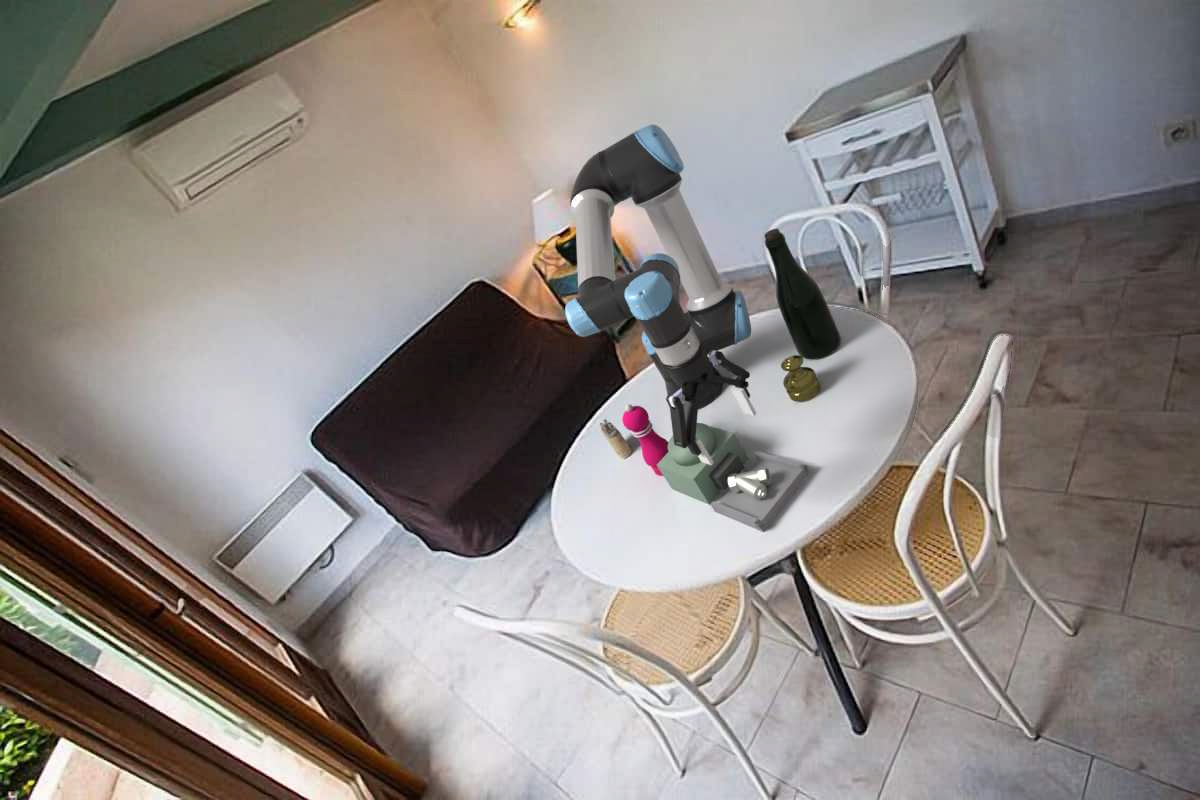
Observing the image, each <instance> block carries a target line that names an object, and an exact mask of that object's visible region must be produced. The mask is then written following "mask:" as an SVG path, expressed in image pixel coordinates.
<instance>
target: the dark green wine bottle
mask: <svg viewBox="0 0 1200 800" xmlns="http://www.w3.org/2000/svg"><path fill="white" fill-rule="evenodd" d="M764 246H765V248H766V249H767V252H768V253H769V256H770V258H771V261H772V264H773V267H774V271H775V272H774V273H775V281H776V282H775V295H776V296H775V297H776V301H777V305H778V308H779V311H780V314H781V316H782V318H783V321H784V323H785V326H786V329H787V330H788V332H789V335H790V337H791V339H792V342H793V345H794V347H795V348H796V351H797V354H798V355H799V356H801V357H802V358H803V359H806V360H818V359H821V358H824V357H827V356H829V355H831V354H832V353H833V352H835V351H836V350H837V349H838V348H839V346H840V344H841V342H842V337H841V334H840V332H839V330H838V326H837V325H836V322H835V320H834V318H833V315H832V313H831V310H830V309H829V306H828V303H827V300H826V299H825V297H824V295H823V292H822V290H821V288H820V286H819V285H818V283H817V282H816V280H815V279H814V278H813V277H812V276H811V275H810V274H809V273H808V272H807V271H806V270H805V269H804V268H803V267H802V266H801V265H800V264H799V263H798V261H797V260H796V259H795V257H794V255H793V253H792V252H791V250H790V248H789V245H788V243H787V241H786V236H785V234H783V232H781V231H780V229H779V228H772V229H771V230H768V231H767V232H766V233H764Z"/></svg>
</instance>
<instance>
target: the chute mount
mask: <svg viewBox="0 0 1200 800" xmlns="http://www.w3.org/2000/svg"><path fill="white" fill-rule="evenodd" d="M753 455H754V457H755V459H754V461H752V463H751V464H750V465H749V466H748V467H747V469H746V470H745V471H744V472H748V471H753V470H757V469H759V468H760V467H764V466H766V467H767V468H768V469H769V471H770V474H771V480H772V481H771V484H770V485H768V486H766V488H767V491H766V496H765V497H763V498H762V499H760V500H756V499H755V498H753V497H751V496H750V495H748V494H746V493H745V492H743V491H742V490H740V491H739V492H735V493H733V492H732V491H731V490H730V489H729V490H728V491H727V492H726V493H725V495H724V496H723V497H722V498H721V499H720V500H719V502H718V501H714V500H713V501H712V502H711V503H710V506H711V508H712V509H713V511H714V512H715V513H717V514H719V515H721V516H724V517H726V518H728V519H731V520H733V521H737V522H739V523H741V524H743V525H746V526H748V527H750V528H753V529H755V530H757V531H760V532H762V533H763V532H764V531H765V530H766V529H767V528H768V527H769V526H770V524H771V523H772V521H773V520H774V519H775V518H776V516H777V515H778V514H779V513H780V511H782V509H783V508H784V506H785V505H786V504H787V503H788V501H789V500H790V498H791V497H792V496H793V495H794V494H795V493H796V492H797V490H798V489H799V488H800V486H801V485H802V484H803V483H804V482H805V480H806V479H807V477H808V476H809V475H810V474H811V471H810V469H809V468H808V466H807V464H804V463H800V462H797V461H793V460H790V459H786V458H783V457H780V456H776V455H772V454H770V453H766V452H764V451H759V450H755V451H754V452H753Z"/></svg>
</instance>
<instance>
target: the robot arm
mask: <svg viewBox="0 0 1200 800" xmlns="http://www.w3.org/2000/svg"><path fill="white" fill-rule="evenodd" d="M684 168H685V166H684V162H683V161H682V158H681V157H680V153H679V152H678V150H677V148H676V147H675V145H674V144H673V142H672V140H671V139H670V137H669V136H668V135H667V133H666V132H665V131H664V130H663V129H662V127H660V126H659V125H656V124H649V125H647V126H645V127H642V128H640V129H638V130H635V131H633V132H632V133H630V134H629V135H627V136H626V137H624V138H622V139H620V140H618V141H616V142H615V143H613V144H612V145H610V146H608V147H606V148H604V149H602V150H600V151H598V152H596V153H595V154H593V155H592V156H591V157H590V158H589V159H588V160H587V161H586V162H585V164H584V165H583V166H582V167H581V170H580V171H579V173H578V174H577V176H576V179H575V181H574V184H573V187H572V189H571V190H572V191H571V195H570V201H569V202H570V208H569V209H570V214H571V216H572V218H573V219H574V221H575V236H576V237H575V239H576V240H575V242H576V262H577V263H576V265H577V266H576V267H577V282H578V283H577V284H578V285H577V289H578V290H577V297H573V299H571V300H570V301H568V302H567V304H566V305H565V309H564V312H565V313H564V314H565V317H566V320H567V323H568V325H569V326H570V328H571V330H573V332H574V333H575V334H576V335H577V336H579V337H582V338H585V337H588V336H592V335H595V334H597V333H601V332H603V331H604V330H606V329H608V328H611V327H613V326H616V325H618V324H620V323H622V322H624V321H626V320H629V319H631V318H635V319H636V321H637V322H638V324H639V326H640V327H641V329H642V330H643V332H642V333H641V334H642V335H641V341H642V344H643V346H644V348H645V350H646V353H647V354H648V355H649V357H650V359H651V361H652V362H653V364H654V365H655V367H656V369H657V371H658V372H659V374H660V375H661V377H662V379H663V381H664V384H665V390H666V394H667V396H666V398H665V400H666V402H667V405H668V408H669V411H670V421H671V429H672V436H673V439H674V445H676V446H679V447H682V448H687V447H688V448H689V450H690V451H691V453H692V454H694V455H697V456H698V457H699V459H700V460H701V462H703V463H706V464H709V465H712V464H713V463H714V462H713V460H712V459H711V457H710V455H709V454H708V452H707V450H706V449H705V447H704V445H703V444H702V442H701V440H700V439H699V438H696V427H697V422H698V411H699V409H701V408H704V407H706V406H707V405H709V404H710V403H712V402H713V401H714V400H715V399H716V398H717V397H718V396H719V395H720V394H721V392H722V391H723V389H724V385H731V386H732V387H731V389H730V390H731V392H732V394H733V396H734V397H735V399H736V402H737V403H738V406H739V407H740V409H741V411H742V413H743V414H745V415H748V416H756V415H757V412H756V410H755V408H754V406H753V404H752V402H751V400H750V398H751V393H750V392H749V390H748V387H749V385H750V384H749V381H746V380H747V379H749V378H750V376H751V373H750V372H749V371H748V370H746V369H745V368H743V367H741V366H739V365H738V364H737V363H734V362H732V360H730V359H728V358H726V355H724V353H723V352H722V351H720V350H723V349H726V348H728V347H731V346H733V345H735V346H736V345H738V343H740V342H743V341H744V340H747V339H749V337H750V336H751V335H752V323H751V320H750V319H751V318H750V314H749V310H748V307H747V306H748V305H747V303H746V299H745V297H744V295H743V292H742V291H741V290H735V291H734V290H733V286H732V285H731V283H730V284H729V283H727V282H723V281H722V278H721V276H720V274H719V272H718V270H717V268H716V266H715V264H714V262H713V261H714V260H713V259H712V257H711V255H710V254H709V253H710V252H709V251H708V249H707V247H706V245H705V241H704V240H703V238H702V235H701V234H700V232H699V229H698V228H697V226H696V223H695V221H694V219H693V217H692V215H691V212H690V210H689V208H688V206H687V204H686V202H685V200H684V197H683V195H682V193H681V190H680V187H681V185H682V182H683V178H682V176H681V174H680V173H682V171H684ZM630 198H631V200H632V201H633V203H634V205H635V206H637V207H639V208H642V209H644V211H645V212H646V214H647V216H648V219H649V220H650V222H651V225H652V226H653V229H654V230H655V233H656V234H657V236H658V238H659V240H660V243H661V244H662V246H663V248H664V250H665V252H666V253H659V252H658V253H657V252H656V253H653V254H652V253H651V254H650V255H648V256H647V257H645V258H644V260H643V261H642V263H641V264H640V266H639V268H638V269H636V270H634V271H632V272H630V273H627V274H626V275H623V276H621V277H619V278H617V279H616V267H615V266H616V265H615V256H614V245H613V243H614V242H613V231H612V218H613V215H614V212H615V207H616V206H617V205H618V204H620V203H621V202H624V201H626V200H628V199H630ZM681 285H682V287H683V289H684V291H685V293H686V295H687V297H688V301H687V303H686V309H687V312H684V310H683V308H682V306H681V304H680V300H681V299H680V296H681V295H680V289H681V288H680V286H681ZM714 365H718V366H719V367H721V368H722V369H724V370H726V371H727V372H729V373H731V374H732V375H734V376H735V378H731V377H726V376H723V375H722V373H721V372H720V371H719V370H718V369H717V368H716V367H715V366H714ZM688 435H689V436H688Z"/></svg>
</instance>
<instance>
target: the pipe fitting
mask: <svg viewBox="0 0 1200 800" xmlns="http://www.w3.org/2000/svg"><path fill="white" fill-rule="evenodd" d="M771 481H772V480H771V474H770V471H769V469H768V468H767V467H766V466H764V467H760V468H759V469H757V470H753V471H748V472H745V471H743V472H741V473H740V474H736V473H734V474H730V475H729V476H728V485H729V487H728V489H729V490H731V491H732V492H733V493H735V492H739V491H740V490H742V491H743V492H745V493H746V494H748V495H750V496H751V497H753V498H755V499H756V500H760V499H762V498H763V497H765V496H766V491H767V488H766V486H768V485H770V484H771Z"/></svg>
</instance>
